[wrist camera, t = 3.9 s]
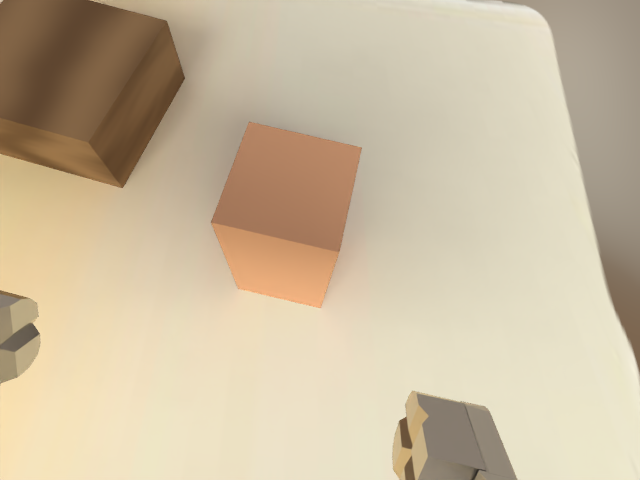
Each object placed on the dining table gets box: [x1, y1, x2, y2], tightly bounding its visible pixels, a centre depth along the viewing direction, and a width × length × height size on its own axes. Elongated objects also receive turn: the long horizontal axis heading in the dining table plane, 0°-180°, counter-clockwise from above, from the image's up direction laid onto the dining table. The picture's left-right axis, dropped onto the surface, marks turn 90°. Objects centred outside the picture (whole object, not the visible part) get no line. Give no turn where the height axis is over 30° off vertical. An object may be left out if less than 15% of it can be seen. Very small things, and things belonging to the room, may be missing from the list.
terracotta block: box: [211, 122, 362, 308], centre depth 20 cm, size 5×5×9 cm
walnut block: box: [0, 0, 185, 188], centre depth 25 cm, size 10×10×5 cm
